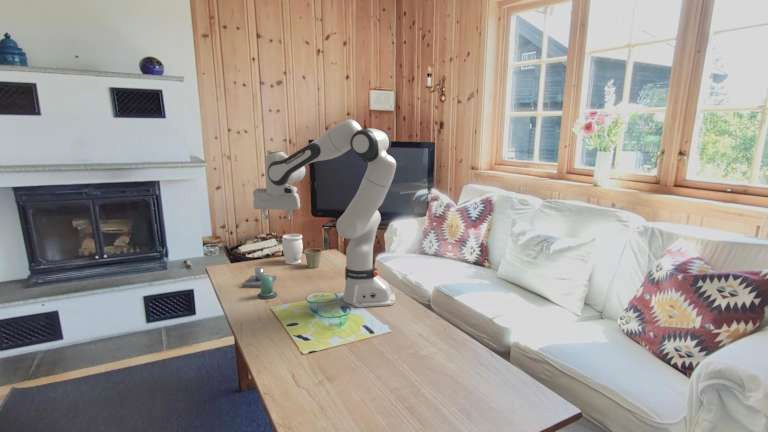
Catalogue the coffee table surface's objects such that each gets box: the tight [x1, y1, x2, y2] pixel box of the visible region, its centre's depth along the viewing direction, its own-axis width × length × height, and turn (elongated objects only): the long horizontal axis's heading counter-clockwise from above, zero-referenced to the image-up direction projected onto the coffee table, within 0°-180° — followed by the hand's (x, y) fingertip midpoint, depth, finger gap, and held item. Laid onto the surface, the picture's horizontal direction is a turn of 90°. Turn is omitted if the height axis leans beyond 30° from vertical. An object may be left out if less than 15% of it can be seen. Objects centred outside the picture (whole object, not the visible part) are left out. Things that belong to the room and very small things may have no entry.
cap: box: [259, 274, 275, 297], centre depth 180 cm, size 6×6×8 cm
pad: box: [257, 291, 278, 300], centre depth 181 cm, size 8×8×1 cm
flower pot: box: [303, 247, 323, 269], centre depth 220 cm, size 9×9×9 cm
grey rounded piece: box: [254, 266, 265, 281], centre depth 195 cm, size 4×6×6 cm, turn 179°
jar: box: [282, 233, 304, 266], centre depth 225 cm, size 11×10×15 cm
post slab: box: [242, 274, 277, 289], centre depth 195 cm, size 12×12×2 cm
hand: (277, 219), depth 187 cm, fingers open, 8 cm apart
